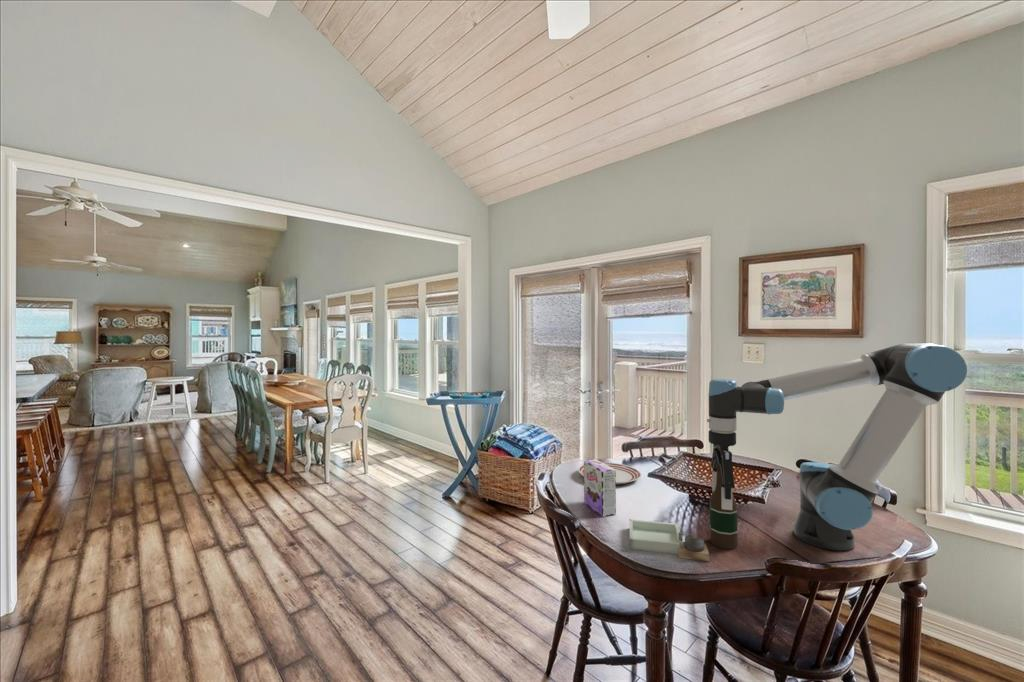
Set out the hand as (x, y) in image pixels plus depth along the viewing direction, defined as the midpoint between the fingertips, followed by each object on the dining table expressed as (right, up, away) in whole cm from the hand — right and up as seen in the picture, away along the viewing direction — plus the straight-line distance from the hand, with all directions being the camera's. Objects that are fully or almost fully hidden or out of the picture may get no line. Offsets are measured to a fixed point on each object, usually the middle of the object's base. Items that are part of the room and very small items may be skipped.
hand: (721, 500), depth 130 cm
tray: (-20, -13, +2) cm, 24 cm away
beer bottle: (0, -13, 0) cm, 13 cm away
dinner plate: (-20, -13, +62) cm, 66 cm away
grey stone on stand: (-12, -13, -6) cm, 19 cm away
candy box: (-32, -14, +27) cm, 44 cm away
